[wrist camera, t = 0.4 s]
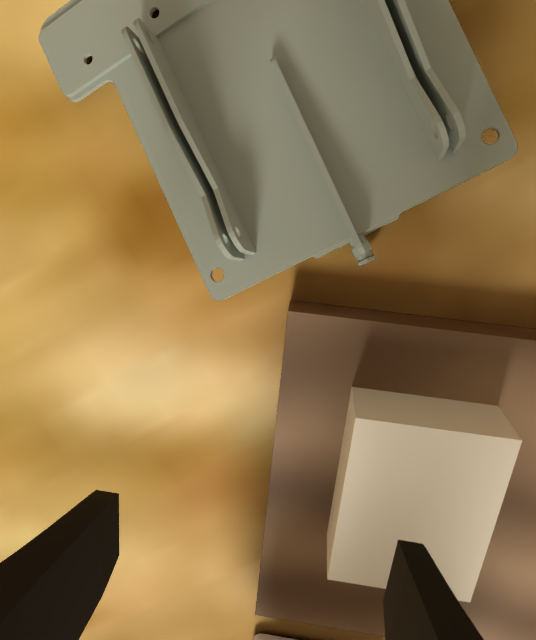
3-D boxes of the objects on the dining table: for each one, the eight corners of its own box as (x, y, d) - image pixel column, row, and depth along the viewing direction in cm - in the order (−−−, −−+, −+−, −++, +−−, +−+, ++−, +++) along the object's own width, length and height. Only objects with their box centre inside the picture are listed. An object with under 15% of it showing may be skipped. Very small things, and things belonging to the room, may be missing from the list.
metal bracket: (635, 124, 12) (155, 353, 16) (553, 176, 17) (215, 335, 21) (397, -358, 12) (-13, -25, 16) (392, -156, 18) (90, 56, 22)
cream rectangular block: (454, 554, 22) (470, 602, 19) (326, 534, 22) (327, 579, 20) (497, 405, 19) (522, 440, 17) (351, 386, 19) (355, 417, 17)
